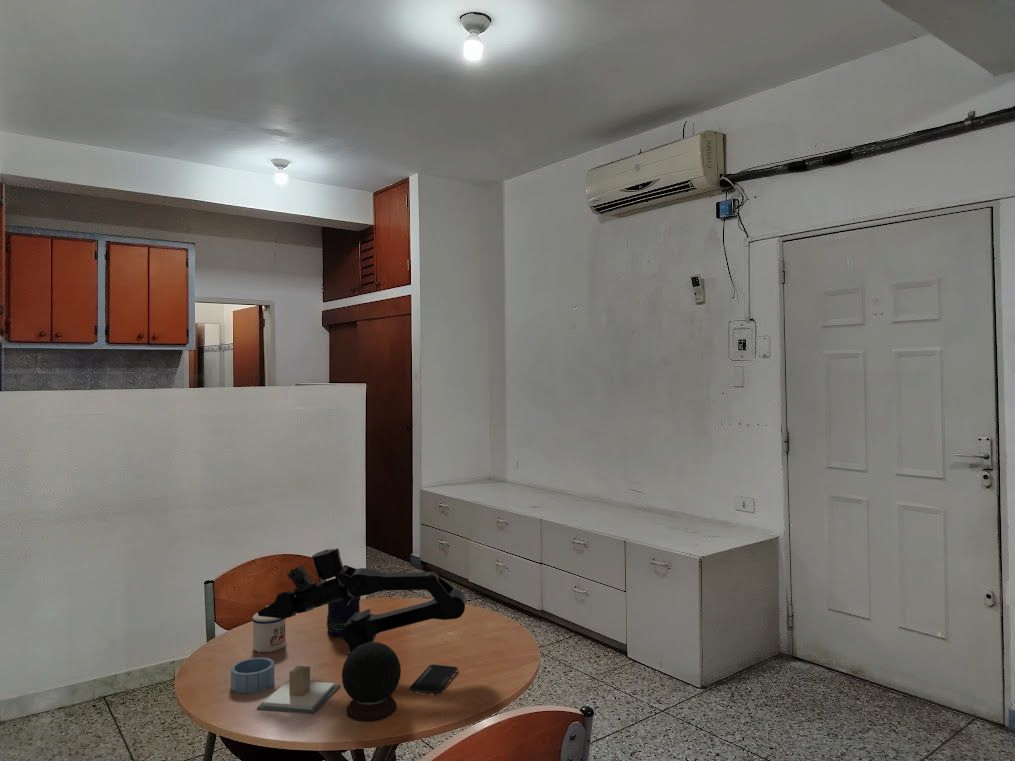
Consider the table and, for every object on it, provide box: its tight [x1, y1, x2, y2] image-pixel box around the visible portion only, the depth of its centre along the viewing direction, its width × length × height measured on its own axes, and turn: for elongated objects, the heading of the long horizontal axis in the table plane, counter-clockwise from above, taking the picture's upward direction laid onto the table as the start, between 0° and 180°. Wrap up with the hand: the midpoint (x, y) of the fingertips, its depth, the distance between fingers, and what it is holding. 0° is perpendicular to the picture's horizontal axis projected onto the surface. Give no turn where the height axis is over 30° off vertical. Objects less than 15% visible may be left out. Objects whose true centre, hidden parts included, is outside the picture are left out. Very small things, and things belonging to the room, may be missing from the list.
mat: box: [256, 680, 341, 715], centre depth 162 cm, size 14×14×1 cm
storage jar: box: [326, 593, 362, 639], centre depth 204 cm, size 10×10×15 cm
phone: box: [409, 664, 459, 696], centre depth 170 cm, size 8×1×15 cm
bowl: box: [230, 656, 275, 694], centre depth 169 cm, size 10×10×4 cm
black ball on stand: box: [341, 641, 402, 723], centre depth 155 cm, size 13×13×15 cm
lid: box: [262, 665, 335, 710], centre depth 162 cm, size 12×12×6 cm
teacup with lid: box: [251, 604, 286, 653], centre depth 194 cm, size 12×9×12 cm
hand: (265, 611), depth 176 cm, fingers open, 9 cm apart
